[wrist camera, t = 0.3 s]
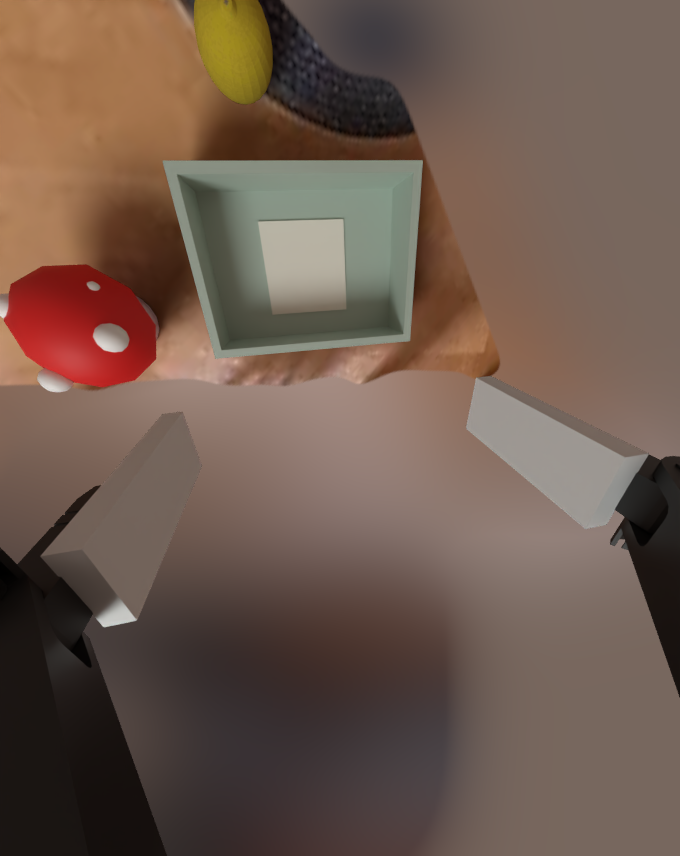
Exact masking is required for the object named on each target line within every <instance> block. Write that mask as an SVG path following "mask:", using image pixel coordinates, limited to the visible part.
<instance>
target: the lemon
mask: <svg viewBox="0 0 680 856" xmlns="http://www.w3.org/2000/svg"><path fill="white" fill-rule="evenodd" d="M194 27H195V33H196V39H197V44H198V49H199V52H200V55H201V57H202V60H203V63H204V66H205V68H206V70H207V71H208V73H209V75H210V77H211V79H212V81H213V82H214V83H215V85H216V86H217V87H218V88H219V90H220V91H221V92H222V93H223V94H224V95H225V96H227V97H228V98H229V99H230V100H232V101H234V102H236V103H238V104H246V105H247V104H252V103H255V102H256V101H258V100H259V99H260V98H261V97H262V96H263V94H264V93H265V92H266V90H267V87H268V85H269V82H270V79H271V73H272V67H273V51H272V43H271V37H270V31H269V27H268V24H267V21H266V18H265V15H264V12H263V10H262V7H261V5H260V3H259V2H258V0H195V4H194Z"/></svg>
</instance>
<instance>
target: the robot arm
mask: <svg viewBox="0 0 680 856" xmlns="http://www.w3.org/2000/svg"><path fill="white" fill-rule="evenodd" d="M466 429H467V430H469V431H470V432H471V433H472V434H473V435H475V436H476V437H477V438H478V439H479V440H480V441H482V442H483V443H484V444H485V445H486V446H488V447H489V448H490V449H491V450H493V452H495V453H496V454H497V455H498V456H499V457H501V458H502V459H503V460H504V461H505V462H506V463H508V464H509V465H510V466H511V467H512V468H514V469H515V470H516V471H517V472H518V473H520V474H521V475H522V476H523V477H524V478H525V479H527V480H528V481H529V482H530V483H531V484H533V485H534V486H535V487H536V488H537V489H539V490H540V491H541V492H542V493H543V494H545V495H546V496H547V497H548V498H549V499H551V500H552V501H553V502H554V503H555V504H556V505H558V506H559V507H560V508H561V509H562V510H564V511H565V512H566V513H567V514H568V515H570V516H571V517H572V518H573V519H574V520H576V521H577V522H578V523H579V524H580V525H581V526H583V527H584V528H585V529H588V528H593V527H598V526H602V525H607V523H608V521H609V520H610V518H611V516H612V515H613V513H614V511H615V510H616V511H617V512H619V513H620V514H622V515H623V516H624V517H625V518H624V519H623V521H622V522H621V524H620V526H619V527H618V529H617V530H616V532H615V533H614V535H613V537H612V538H611V541H610V545H613V546H615V545H616V543H617V542H618V540H619V539H625V543H624V544H623V546H622V548H624V549H627V550H629V553H630V556H631V558H632V561H633V564H634V567H635V570H636V573H637V576H638V579H639V582H640V584H641V587H642V590H643V592H644V596H645V599H646V601H647V604H648V607H649V610H650V613H651V616H652V619H653V622H654V624H655V628H656V630H657V633H658V636H659V639H660V642H661V645H662V648H663V651H664V653H665V656H666V659H667V662H668V665H669V668H670V671H671V674H672V677H673V679H674V682H675V685H676V688H677V690H678V694H679V697H680V457H676V456H670V457H665V458H663V459H661V460H659V459H657V458H655V457H653V456H651V455H649V453H647V452H645V451H643V450H641V449H639V448H637V447H635V446H633V445H631V444H629V443H627V442H625V441H623V440H621V439H619V438H617V437H614V436H612V435H610V434H608V433H606V432H604V431H602V430H600V429H598V428H596V427H594V426H592V425H590V424H588V423H586V422H584V421H582V420H580V419H578V418H575V417H574V416H572V415H569V414H567V413H565V412H563V411H561V410H559V409H557V408H555V407H553V406H551V405H549V404H547V403H545V402H543V401H541V400H539V399H537V398H535V397H532V396H531V395H529V394H527V393H525V392H523V391H520V390H518V389H516V388H514V387H512V386H510V385H508V384H506V383H504V382H502V381H500V380H498V379H496V378H494V377H492V376H487V377H479V378H476V382H475V387H474V391H473V396H472V402H471V406H470V412H469V416H468V422H467V427H466ZM201 467H202V464H201V461H200V459H199V456H198V453H197V450H196V447H195V445H194V442H193V439H192V436H191V434H190V431H189V428H188V425H187V423H186V420H185V417H184V415H183V412H176V413H168V414H162V415H161V417H160V418H159V419H158V420H157V421H156V422H155V424H154V425H153V426H152V427H151V428H150V429H149V430H148V432H147V433H146V434H145V435H144V436H143V438H142V439H141V440H140V441H139V442H138V443H137V444H136V446H135V447H134V448H133V449H132V450H131V451H130V453H129V454H128V455H127V456H126V457H125V458H124V460H123V461H122V462H121V463H120V464H119V465H118V467H117V468H116V469H115V470H114V471H113V472H112V473H111V475H110V476H109V477H108V478H107V479H106V481H105V482H104V483H103V484H102V485H100V486H95V487H93V488H92V489H91V490H89V491H88V492H86V493H85V494H83V495H82V496H81V497H79V498H78V499H77V500H76V501H75V502H74V503H73V504H72V505H71V507H69V509H68V510H67V511H66V512H65V515H62V516H61V517H60V519H58V521H57V522H56V523H55V524H54V525H55V526H54V527H51V528H50V529H49V530H48V532H47V533H46V534H45V535H44V536H43V537H42V538H41V539H40V540H39V541H38V542H37V544H36V545H35V546H34V547H33V548H32V549H31V550H30V551H29V552H28V554H26V556H25V557H24V558H23V559H22V560H21V561H20V562H19V563H18V564H16V563H15V562H14V561H13V560H12V559H11V558H10V557H9V556H8V555H7V554H6V553H5V552H4V551H3V550H2V549H1V548H0V856H167V854H166V851H165V848H164V845H163V843H162V840H161V837H160V835H159V831H158V829H157V826H156V823H155V820H154V817H153V815H152V812H151V809H150V807H149V804H148V801H147V798H146V795H145V792H144V789H143V787H142V784H141V781H140V778H139V775H138V773H137V770H136V767H135V764H134V761H133V759H132V756H131V753H130V750H129V747H128V745H127V742H126V739H125V736H124V734H123V731H122V728H121V725H120V722H119V720H118V717H117V714H116V711H115V708H114V705H113V703H112V700H111V697H110V694H109V691H108V689H107V686H106V683H105V680H104V677H103V675H102V672H101V669H100V666H99V663H98V661H97V658H96V655H95V653H94V649H93V647H92V644H91V641H90V638H89V637H88V636H87V635H86V634H85V633H84V632H83V631H84V629H85V627H86V625H87V623H88V622H89V620H90V618H91V616H92V615H94V617H95V618H96V619H97V620H98V621H99V622H100V623H101V625H103V627H107V626H112V625H117V624H122V623H127V622H132V621H137V619H138V616H139V614H140V612H141V610H142V607H143V605H144V602H145V600H146V597H147V595H148V593H149V591H150V588H151V586H152V583H153V581H154V579H155V576H156V574H157V572H158V569H159V567H160V564H161V562H162V559H163V557H164V555H165V553H166V550H167V548H168V546H169V543H170V541H171V538H172V536H173V534H174V531H175V529H176V527H177V524H178V522H179V519H180V517H181V514H182V512H183V510H184V508H185V505H186V503H187V500H188V498H189V496H190V493H191V491H192V488H193V486H194V484H195V481H196V479H197V477H198V474H199V472H200V469H201Z"/></svg>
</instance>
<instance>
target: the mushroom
mask: <svg viewBox="0 0 680 856" xmlns="http://www.w3.org/2000/svg"><path fill="white" fill-rule="evenodd" d="M0 316H1V317H2V318H4V322H5V323H6V325H7V326H8V328H9V330H10V331H11V333H12V334H13V336H14V337H15V339H16V341H17V342H18V344H19V345H20V347H21V348H22V350H23V352H24V353H25V355H26V356H27V357H29V358H30V359H31V360H33V361H34V362H36V363H37V364H39V365H40V366H42V367H43V368H44V369H42V370H41V371H40V372H39V374H38V378H37V380H38V381H39V383H40V384H41V386H42V387H44V388H45V389H47V390H48V391H53V392H63V391H67V390H69V389H70V388H71V387H72V386H73V383H74V382H75V383H81V384H87V385H93V386H99V387H106V386H110V385H115V384H120V383H124V382H129V381H133V380H136V379H137V378H138V377H139V376H140V375H141V374H142V373H143V372H144V371H145V370H146V369H147V368H148V367H149V366H150V365H151V364H152V363H153V362H154V361H155V360H156V341H157V338H158V334H159V325H158V320H157V317H156V316H155V314H154V312H153V311H152V309H151V308H150V306H149V305H147V304H146V303H145V302H144V301H143V300H142V299H140V298H139V297H137V296H135V294H134V293H133V291H132V290H131V289H130V288H129V287H127V286H125V285H123V284H121V283H119V282H118V281H116V280H114V279H112V278H110V277H108V276H107V275H105V274H103V273H101V272H99V271H98V270H96V269H94V268H92V267H90V266H88V265H61V266H42V267H40V268H38V269H37V270H35V271H33V272H31V273H30V274H28V275H26V276H24V277H23V278H21V279H19V280H17V281H16V282H14V283H12V284H11V286H10V291H9V294H0Z"/></svg>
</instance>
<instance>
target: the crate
mask: <svg viewBox="0 0 680 856" xmlns="http://www.w3.org/2000/svg"><path fill="white" fill-rule="evenodd" d="M163 165H164V169H165V172H166V176H167V180H168V184H169V187H170V191H171V195H172V198H173V202H174V206H175V210H176V213H177V217H178V221H179V225H180V228H181V232H182V236H183V240H184V243H185V247H186V251H187V254H188V258H189V262H190V266H191V269H192V273H193V277H194V281H195V284H196V288H197V292H198V295H199V299H200V303H201V307H202V310H203V314H204V318H205V322H206V325H207V329H208V333H209V336H210V340H211V344H212V348H213V351H214V355H215V359H218V358H229V357H240V356H250V355H261V354H272V353H283V352H294V351H305V350H316V349H327V348H338V347H349V346H360V345H371V344H382V343H393V342H404V341H410V332H411V319H412V305H413V291H414V277H415V263H416V249H417V235H418V221H419V208H420V194H421V180H422V166H423V160H262V161H163Z"/></svg>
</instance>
